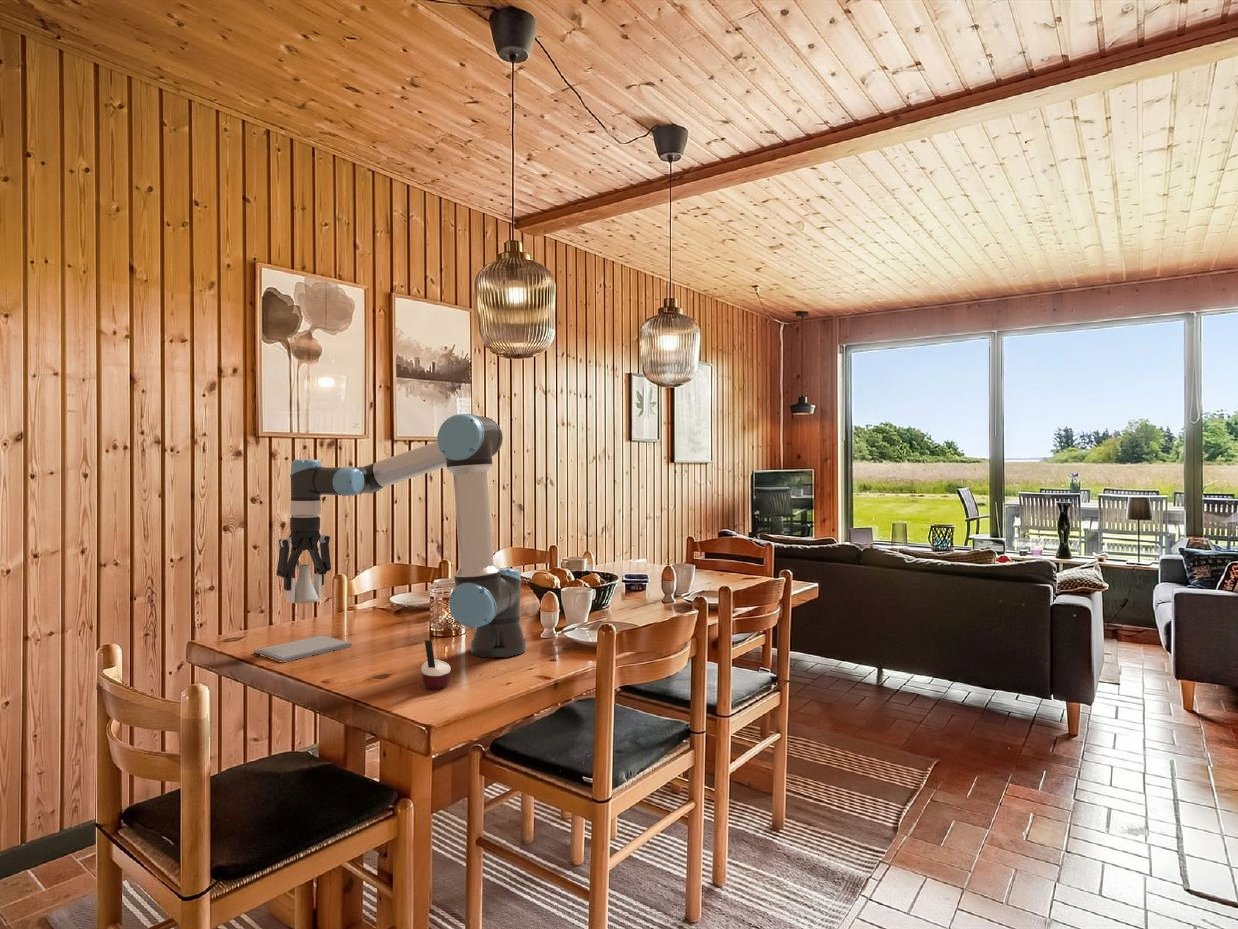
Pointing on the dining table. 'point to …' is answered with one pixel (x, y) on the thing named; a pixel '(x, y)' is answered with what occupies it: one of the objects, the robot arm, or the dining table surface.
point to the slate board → (303, 648)
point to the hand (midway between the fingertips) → (304, 599)
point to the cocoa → (434, 670)
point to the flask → (305, 586)
